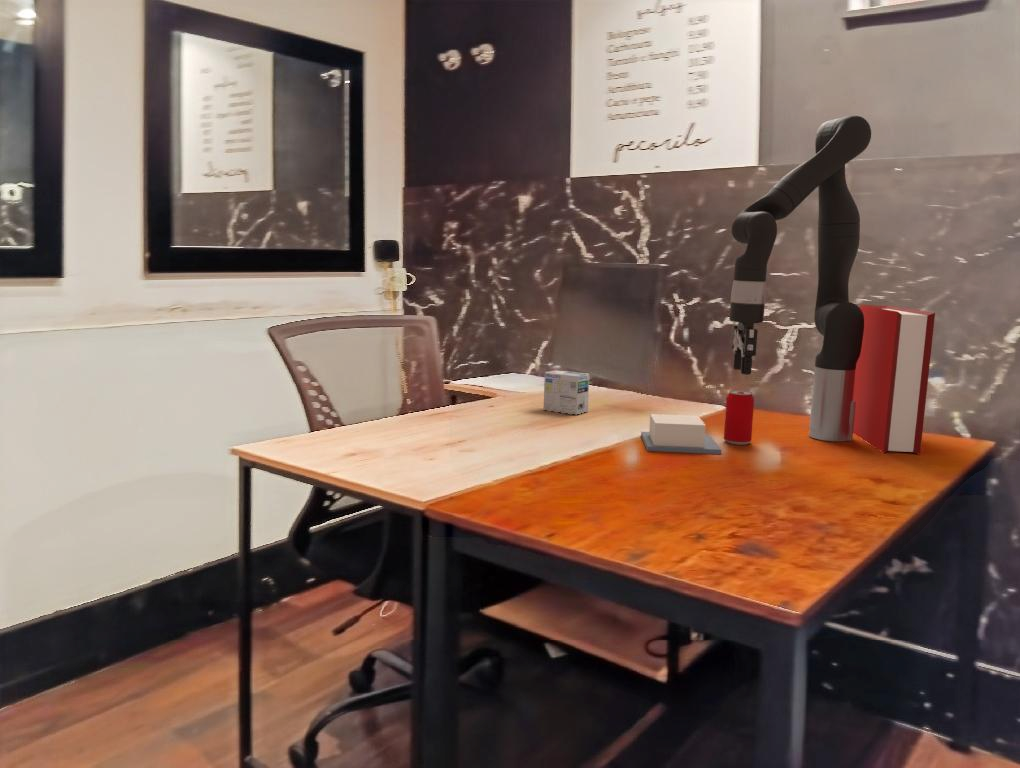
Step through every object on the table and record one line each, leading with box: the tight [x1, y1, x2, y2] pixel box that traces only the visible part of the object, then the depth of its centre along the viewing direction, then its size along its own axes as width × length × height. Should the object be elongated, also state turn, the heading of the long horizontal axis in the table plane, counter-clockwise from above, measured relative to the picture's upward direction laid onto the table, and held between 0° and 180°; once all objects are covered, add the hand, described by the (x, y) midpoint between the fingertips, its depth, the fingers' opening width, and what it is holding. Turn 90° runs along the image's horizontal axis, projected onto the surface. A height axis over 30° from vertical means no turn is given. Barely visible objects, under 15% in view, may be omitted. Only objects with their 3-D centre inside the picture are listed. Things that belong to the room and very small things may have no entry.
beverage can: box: [723, 389, 755, 446], centre depth 195 cm, size 6×6×12 cm
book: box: [853, 304, 936, 455], centre depth 200 cm, size 27×8×32 cm, turn 175°
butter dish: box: [640, 413, 722, 455], centre depth 191 cm, size 16×16×6 cm
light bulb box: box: [543, 369, 590, 416], centre depth 228 cm, size 11×7×11 cm, turn 58°
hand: (741, 371), depth 194 cm, fingers open, 8 cm apart
